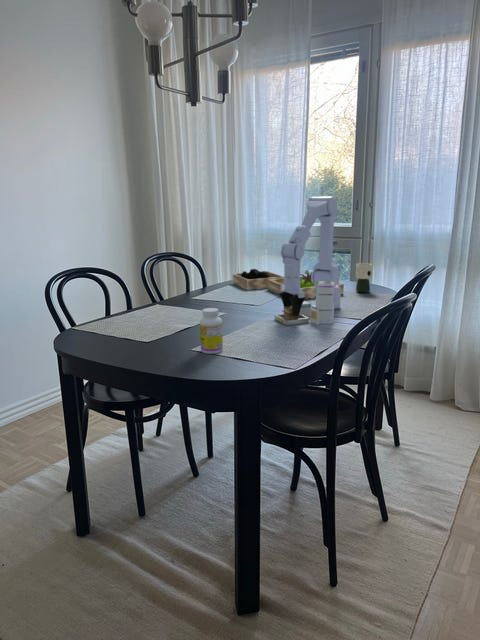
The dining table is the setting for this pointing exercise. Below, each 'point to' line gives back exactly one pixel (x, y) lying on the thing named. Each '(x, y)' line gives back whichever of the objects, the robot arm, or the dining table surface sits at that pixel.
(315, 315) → the label plate
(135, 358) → the dining table surface
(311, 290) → the oak planter frame
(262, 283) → the shallow wooden crate
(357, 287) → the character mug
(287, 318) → the walnut block
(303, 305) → the grey block
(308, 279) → the plant
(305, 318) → the parts tray
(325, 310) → the syrup box
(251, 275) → the film camera
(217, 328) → the supplement bottle
